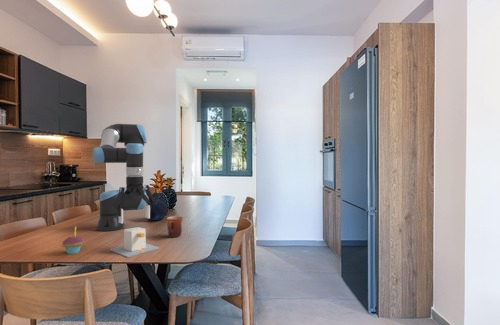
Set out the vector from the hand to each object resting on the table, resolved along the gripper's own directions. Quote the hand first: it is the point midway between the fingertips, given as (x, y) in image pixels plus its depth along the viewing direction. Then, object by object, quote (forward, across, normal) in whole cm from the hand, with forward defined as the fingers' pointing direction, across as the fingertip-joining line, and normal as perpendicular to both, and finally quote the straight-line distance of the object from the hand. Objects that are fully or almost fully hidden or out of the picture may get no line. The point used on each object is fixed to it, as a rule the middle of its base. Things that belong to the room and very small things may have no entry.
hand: (134, 220), depth 135 cm
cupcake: (+14, -20, +17) cm, 30 cm away
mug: (+14, +25, +3) cm, 29 cm away
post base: (+14, 0, -1) cm, 14 cm away
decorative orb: (+15, +44, +48) cm, 67 cm away
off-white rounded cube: (+13, 0, -2) cm, 13 cm away
